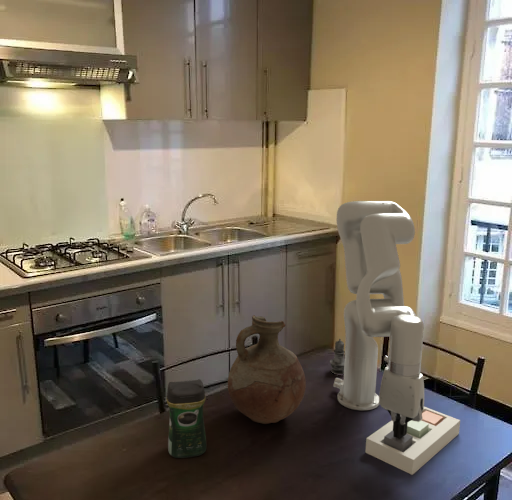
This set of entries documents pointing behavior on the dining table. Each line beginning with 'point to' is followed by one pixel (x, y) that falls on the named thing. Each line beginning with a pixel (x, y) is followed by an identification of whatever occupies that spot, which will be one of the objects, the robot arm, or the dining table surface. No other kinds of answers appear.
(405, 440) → the charcoal button
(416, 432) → the sage button
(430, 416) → the terracotta button
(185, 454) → the coffee jar
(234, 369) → the jug
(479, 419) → the dining table surface
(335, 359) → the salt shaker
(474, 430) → the dining table surface
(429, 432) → the button panel
